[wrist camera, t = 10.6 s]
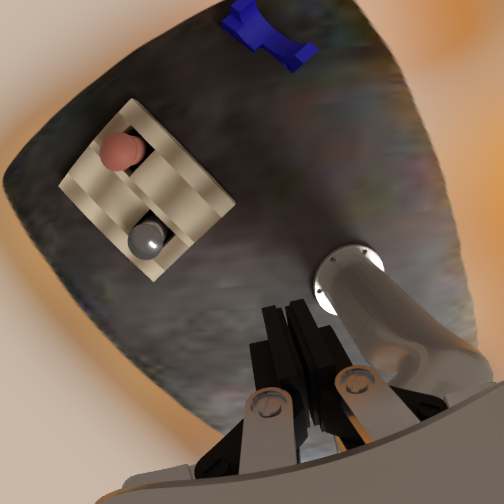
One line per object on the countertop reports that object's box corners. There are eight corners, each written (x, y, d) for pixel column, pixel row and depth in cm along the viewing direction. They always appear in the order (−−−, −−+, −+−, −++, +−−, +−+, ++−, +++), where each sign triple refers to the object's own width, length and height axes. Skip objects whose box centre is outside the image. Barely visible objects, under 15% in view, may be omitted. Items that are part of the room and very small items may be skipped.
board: (234, 200, 42) (235, 204, 39) (157, 273, 44) (153, 281, 42) (137, 100, 35) (131, 98, 33) (67, 182, 38) (58, 186, 35)
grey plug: (176, 229, 42) (169, 243, 36) (155, 250, 43) (146, 267, 37) (154, 206, 41) (143, 217, 35) (133, 228, 41) (120, 242, 36)
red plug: (155, 149, 37) (143, 150, 31) (132, 174, 38) (117, 179, 32) (133, 126, 35) (118, 124, 29) (110, 151, 36) (92, 153, 30)
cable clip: (221, 28, 33) (221, 12, 28) (243, 10, 32) (247, -8, 27) (285, 80, 37) (295, 70, 31) (306, 61, 36) (318, 49, 30)
